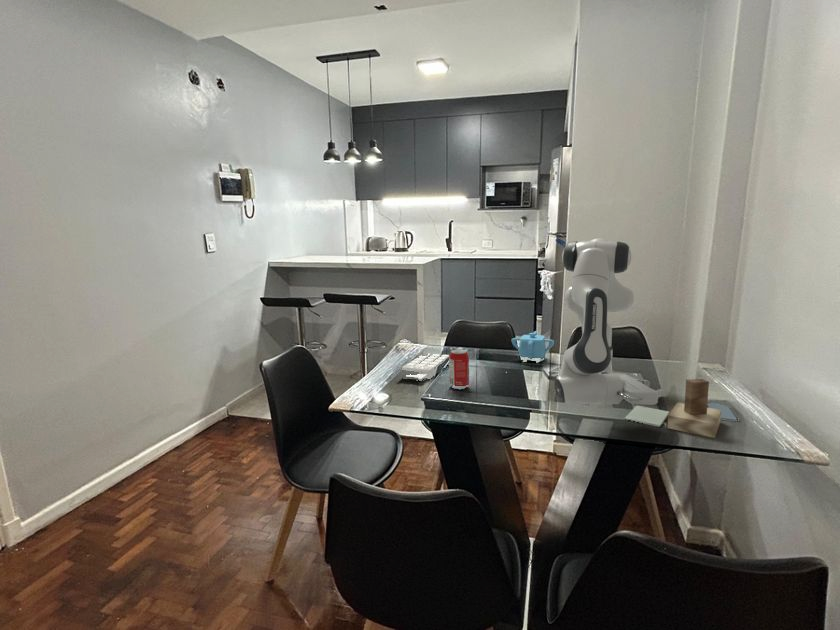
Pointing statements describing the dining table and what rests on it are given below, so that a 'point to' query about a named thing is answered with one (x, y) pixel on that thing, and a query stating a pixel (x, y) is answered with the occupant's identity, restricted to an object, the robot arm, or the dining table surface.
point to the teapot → (532, 345)
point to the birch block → (695, 421)
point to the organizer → (424, 365)
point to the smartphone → (724, 412)
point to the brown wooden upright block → (696, 396)
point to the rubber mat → (647, 416)
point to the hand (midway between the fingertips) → (656, 387)
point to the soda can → (459, 368)
